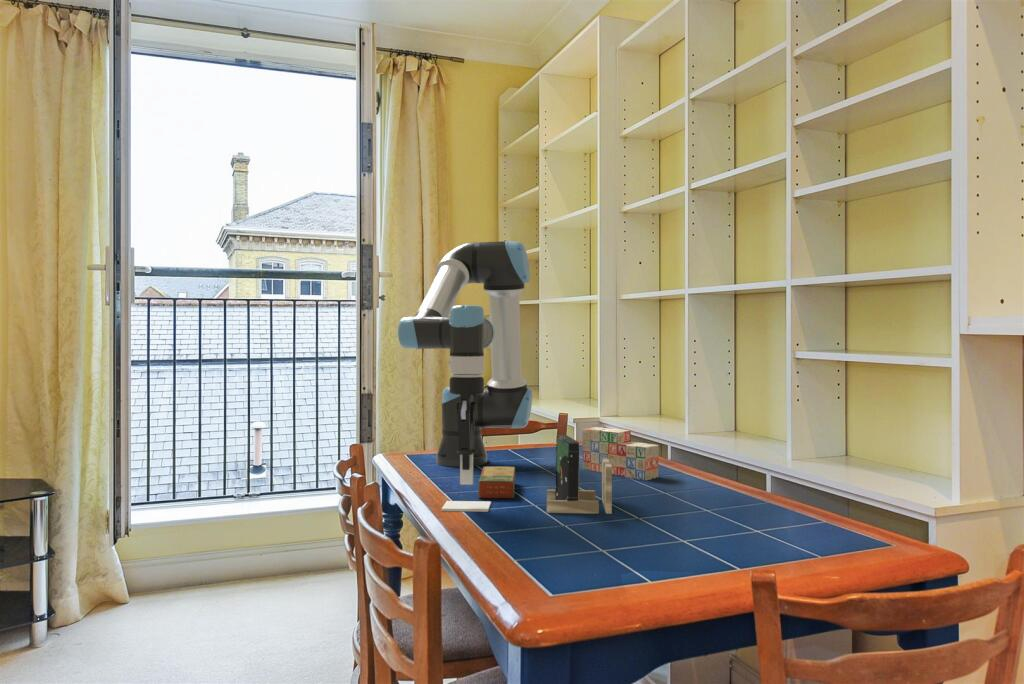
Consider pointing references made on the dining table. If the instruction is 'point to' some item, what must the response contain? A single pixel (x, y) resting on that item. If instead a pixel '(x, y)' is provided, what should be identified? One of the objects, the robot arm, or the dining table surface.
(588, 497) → the wooden holder
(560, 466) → the disk drive
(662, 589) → the dining table surface
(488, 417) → the robot arm
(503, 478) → the carton
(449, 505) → the pad
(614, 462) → the stack of blocks
